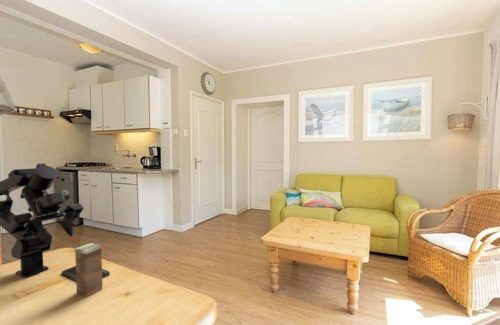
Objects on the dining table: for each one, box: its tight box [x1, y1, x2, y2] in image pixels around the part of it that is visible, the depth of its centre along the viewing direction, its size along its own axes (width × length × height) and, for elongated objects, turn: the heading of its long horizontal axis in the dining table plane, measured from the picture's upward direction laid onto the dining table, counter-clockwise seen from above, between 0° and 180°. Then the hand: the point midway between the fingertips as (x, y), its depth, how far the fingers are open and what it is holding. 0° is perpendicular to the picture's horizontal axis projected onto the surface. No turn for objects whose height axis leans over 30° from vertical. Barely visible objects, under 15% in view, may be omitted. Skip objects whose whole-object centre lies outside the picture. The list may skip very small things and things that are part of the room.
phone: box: [61, 265, 111, 282], centre depth 83 cm, size 8×1×15 cm
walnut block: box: [74, 242, 103, 298], centre depth 73 cm, size 4×4×13 cm
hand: (61, 238), depth 77 cm, fingers open, 6 cm apart
